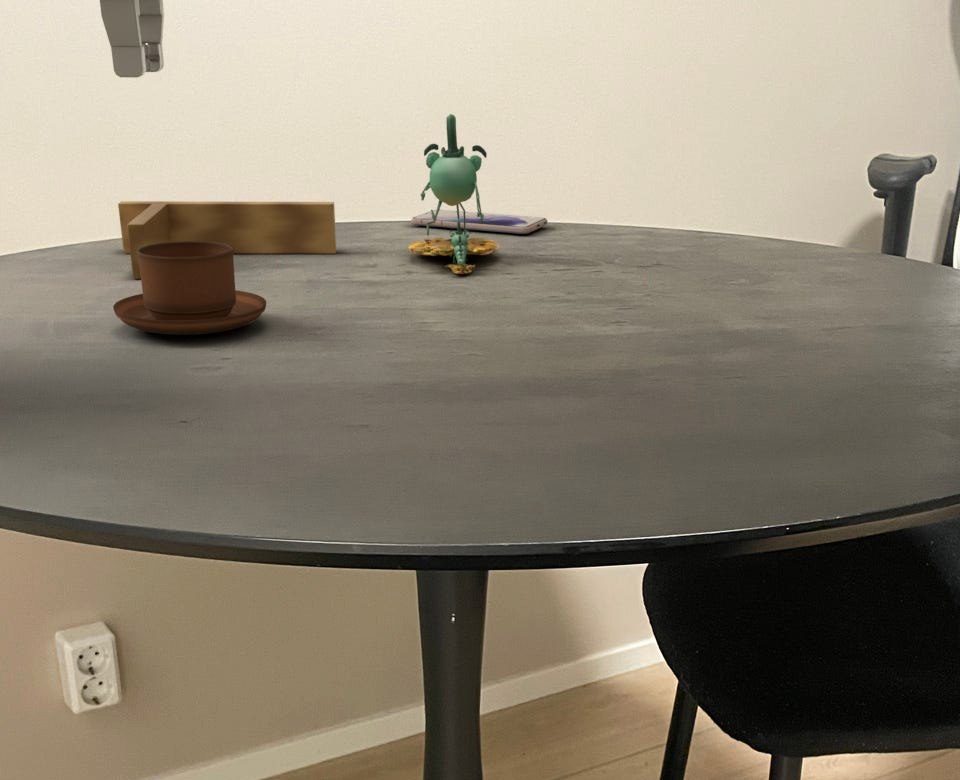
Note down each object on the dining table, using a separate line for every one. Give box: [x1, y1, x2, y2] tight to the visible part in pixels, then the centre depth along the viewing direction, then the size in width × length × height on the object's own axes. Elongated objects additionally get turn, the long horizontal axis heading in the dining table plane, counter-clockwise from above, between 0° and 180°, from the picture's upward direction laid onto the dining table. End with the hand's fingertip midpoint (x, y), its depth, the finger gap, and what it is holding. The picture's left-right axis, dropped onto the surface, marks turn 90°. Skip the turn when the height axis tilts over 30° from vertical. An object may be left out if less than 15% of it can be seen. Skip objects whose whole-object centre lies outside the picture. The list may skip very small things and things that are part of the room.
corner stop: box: [117, 200, 337, 280], centre depth 124 cm, size 22×15×5 cm
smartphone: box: [411, 209, 548, 235], centre depth 148 cm, size 7×1×15 cm
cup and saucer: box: [112, 241, 267, 336], centre depth 100 cm, size 12×12×6 cm
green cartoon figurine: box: [407, 113, 501, 275], centre depth 127 cm, size 10×18×15 cm, turn 171°
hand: (140, 74), depth 83 cm, fingers open, 5 cm apart
